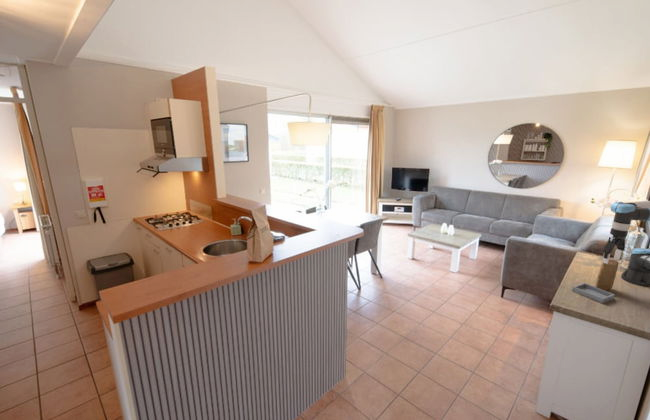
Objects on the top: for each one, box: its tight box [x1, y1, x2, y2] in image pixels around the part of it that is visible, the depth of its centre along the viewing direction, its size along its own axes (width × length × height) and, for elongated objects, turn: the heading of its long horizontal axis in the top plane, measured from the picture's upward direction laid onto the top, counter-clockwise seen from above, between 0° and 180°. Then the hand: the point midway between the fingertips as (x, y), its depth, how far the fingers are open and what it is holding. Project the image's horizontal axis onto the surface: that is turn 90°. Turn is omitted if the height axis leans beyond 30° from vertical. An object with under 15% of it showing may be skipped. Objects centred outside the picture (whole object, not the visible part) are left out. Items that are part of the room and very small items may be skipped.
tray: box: [571, 282, 615, 304], centre depth 183 cm, size 13×16×3 cm
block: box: [595, 258, 619, 293], centre depth 187 cm, size 11×8×20 cm
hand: (610, 261), depth 185 cm, fingers open, 13 cm apart
